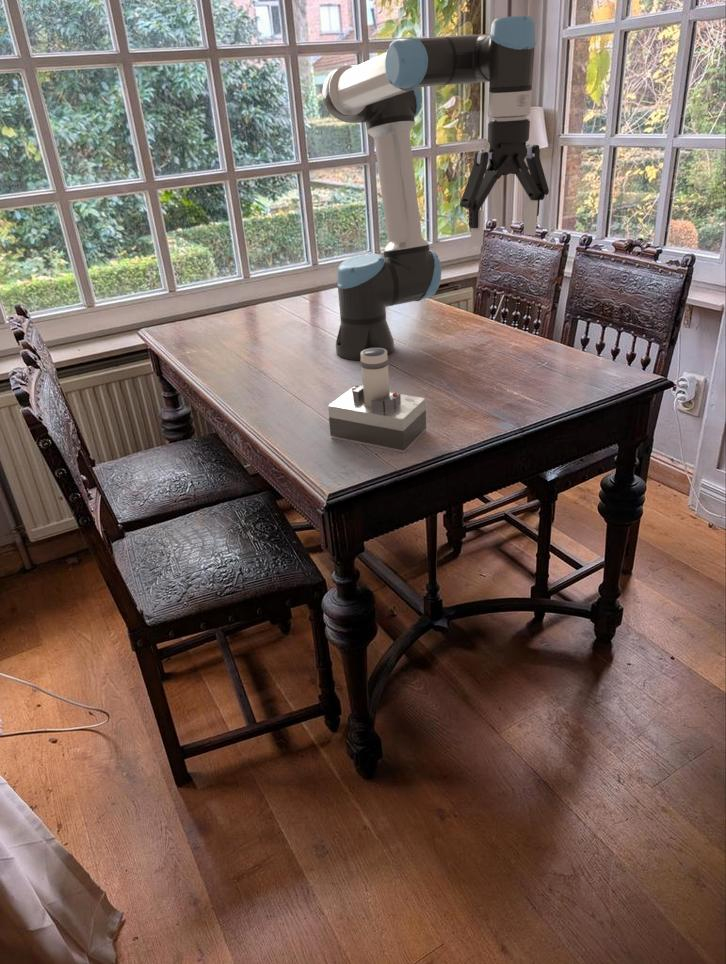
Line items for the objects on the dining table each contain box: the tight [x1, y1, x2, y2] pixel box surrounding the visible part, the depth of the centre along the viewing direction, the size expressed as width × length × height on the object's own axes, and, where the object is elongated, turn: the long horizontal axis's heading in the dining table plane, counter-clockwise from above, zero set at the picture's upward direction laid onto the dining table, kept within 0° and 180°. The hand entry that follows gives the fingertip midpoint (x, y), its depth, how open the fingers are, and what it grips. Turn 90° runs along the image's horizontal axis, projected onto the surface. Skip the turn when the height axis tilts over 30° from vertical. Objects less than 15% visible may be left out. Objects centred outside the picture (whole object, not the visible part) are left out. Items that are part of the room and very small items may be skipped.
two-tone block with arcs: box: [327, 384, 427, 454], centre depth 133 cm, size 16×10×10 cm, turn 61°
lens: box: [359, 348, 391, 407], centre depth 129 cm, size 5×5×10 cm
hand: (503, 240), depth 135 cm, fingers open, 13 cm apart
